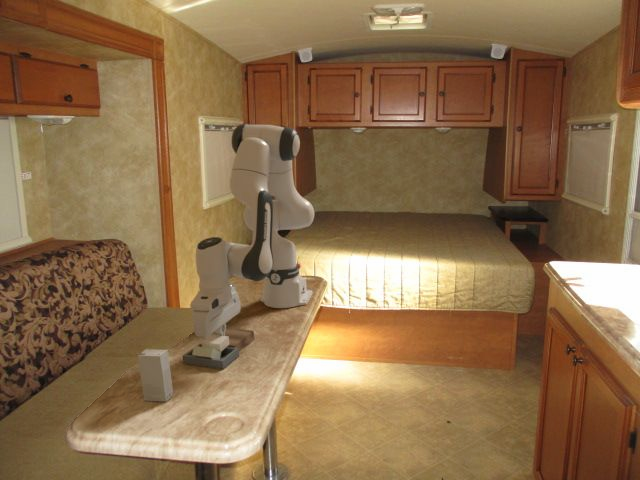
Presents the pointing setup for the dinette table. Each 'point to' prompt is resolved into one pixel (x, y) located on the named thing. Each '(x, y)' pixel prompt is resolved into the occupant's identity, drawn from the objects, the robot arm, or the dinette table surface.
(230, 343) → the walnut plate
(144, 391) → the skincare box
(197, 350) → the tile front
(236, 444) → the dinette table surface
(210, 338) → the tile back
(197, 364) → the box
